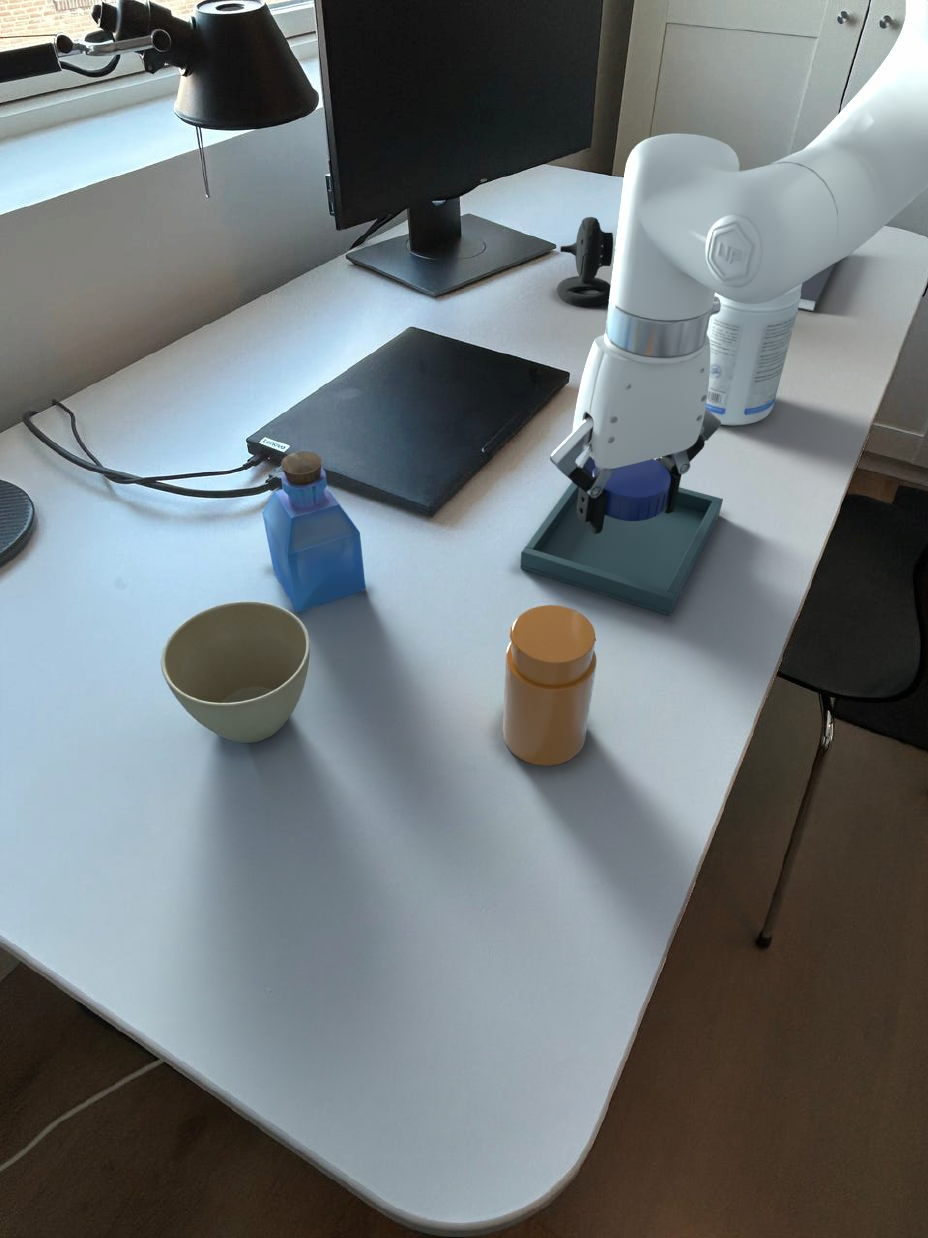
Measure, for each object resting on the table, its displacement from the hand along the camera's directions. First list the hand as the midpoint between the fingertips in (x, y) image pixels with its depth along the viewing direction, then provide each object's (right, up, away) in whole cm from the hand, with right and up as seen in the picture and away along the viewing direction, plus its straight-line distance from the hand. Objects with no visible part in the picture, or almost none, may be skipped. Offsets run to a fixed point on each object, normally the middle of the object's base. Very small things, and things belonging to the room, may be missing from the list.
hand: (625, 513), depth 78 cm
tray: (0, -2, +2) cm, 3 cm away
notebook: (+30, +39, +46) cm, 68 cm away
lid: (0, +3, -3) cm, 4 cm away
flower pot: (-30, -17, -13) cm, 37 cm away
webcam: (+2, +34, +41) cm, 53 cm away
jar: (-9, -18, -14) cm, 24 cm away
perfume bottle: (-27, -6, -2) cm, 28 cm away
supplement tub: (+15, +14, +19) cm, 28 cm away
